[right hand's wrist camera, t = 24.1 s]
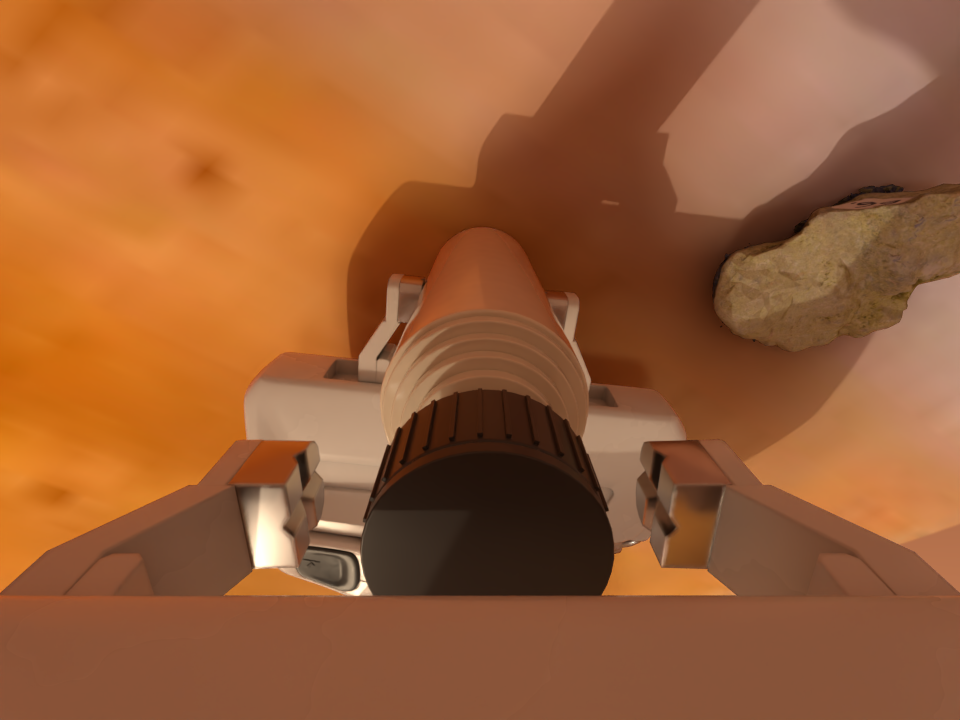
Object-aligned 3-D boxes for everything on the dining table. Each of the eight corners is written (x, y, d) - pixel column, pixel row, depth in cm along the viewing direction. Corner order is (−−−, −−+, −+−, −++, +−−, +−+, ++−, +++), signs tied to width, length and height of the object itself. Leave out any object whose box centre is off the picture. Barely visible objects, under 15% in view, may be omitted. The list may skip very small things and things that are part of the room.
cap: (421, 353, 9) (404, 409, 7) (626, 428, 10) (667, 500, 8) (355, 527, 11) (325, 616, 9) (538, 583, 11) (552, 680, 9)
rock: (680, 307, 29) (838, 378, 29) (712, 334, 23) (912, 423, 23) (787, 118, 26) (967, 198, 26) (857, 92, 20) (1093, 196, 20)
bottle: (413, 284, 28) (272, 547, 9) (474, 205, 26) (460, 321, 7) (488, 342, 29) (505, 681, 10) (551, 270, 28) (708, 510, 9)
